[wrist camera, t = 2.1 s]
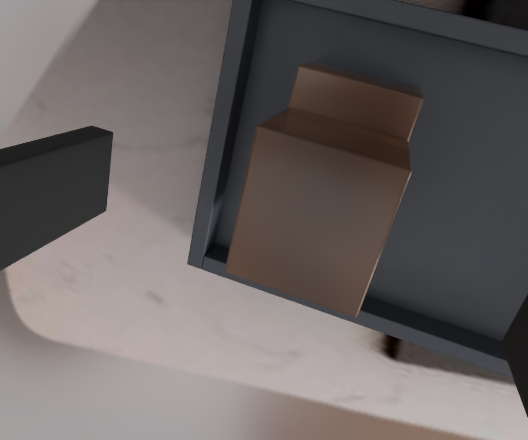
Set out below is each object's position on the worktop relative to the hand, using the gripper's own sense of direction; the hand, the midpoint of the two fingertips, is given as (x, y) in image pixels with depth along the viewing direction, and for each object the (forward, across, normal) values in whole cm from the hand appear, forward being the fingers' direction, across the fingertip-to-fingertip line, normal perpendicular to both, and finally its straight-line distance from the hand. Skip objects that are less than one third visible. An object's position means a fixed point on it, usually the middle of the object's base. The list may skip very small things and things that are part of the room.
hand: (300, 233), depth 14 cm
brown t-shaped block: (+8, 0, 0) cm, 8 cm away
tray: (+9, +5, 0) cm, 10 cm away
